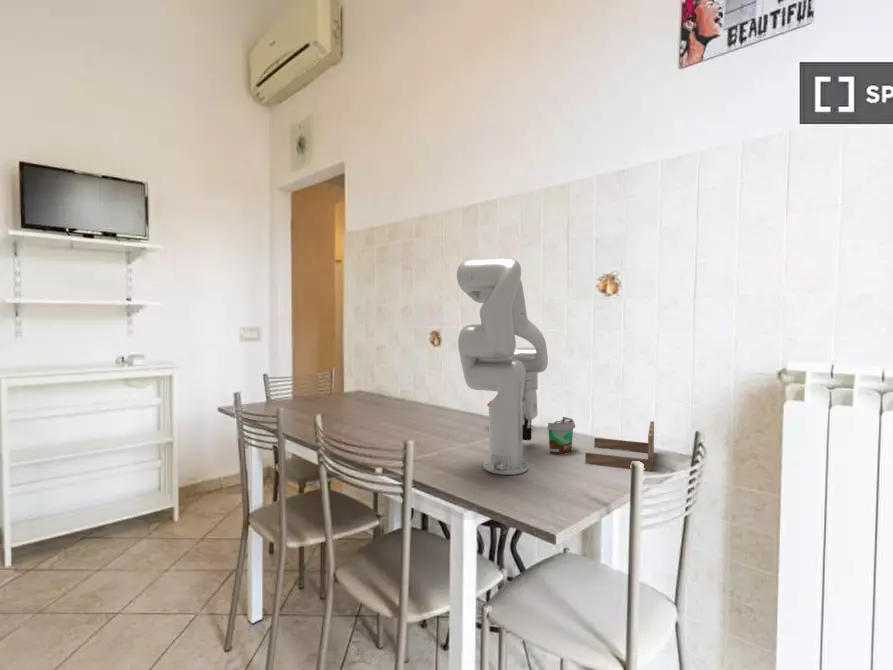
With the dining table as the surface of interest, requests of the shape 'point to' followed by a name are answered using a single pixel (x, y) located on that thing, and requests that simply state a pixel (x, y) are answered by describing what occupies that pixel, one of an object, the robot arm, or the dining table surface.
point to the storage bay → (624, 445)
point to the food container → (561, 436)
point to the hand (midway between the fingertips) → (526, 439)
